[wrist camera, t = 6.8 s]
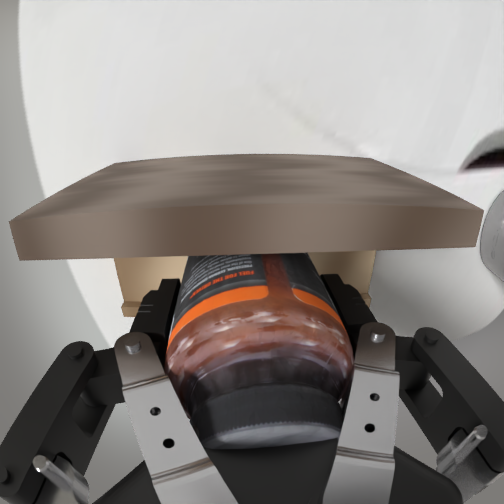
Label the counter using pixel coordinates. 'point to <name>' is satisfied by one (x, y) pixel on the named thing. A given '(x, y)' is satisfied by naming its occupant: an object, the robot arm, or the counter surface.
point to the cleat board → (243, 216)
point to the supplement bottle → (258, 351)
